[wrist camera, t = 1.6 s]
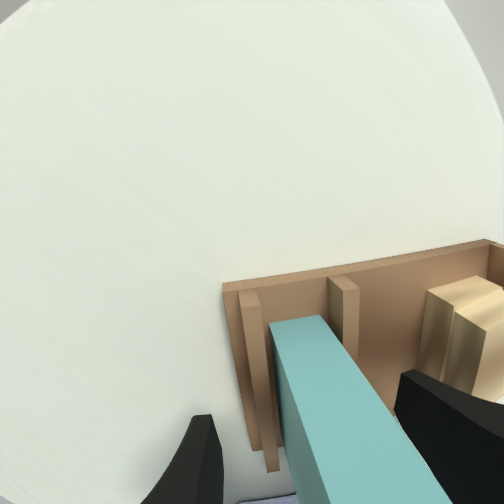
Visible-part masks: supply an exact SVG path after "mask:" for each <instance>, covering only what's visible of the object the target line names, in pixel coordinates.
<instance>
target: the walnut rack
mask: <svg viewBox="0 0 504 504" xmlns="http://www.w3.org/2000/svg"><path fill="white" fill-rule="evenodd" d="M474 276H479V277H481V278H483V279H485V280H488V281H490V282H492V283H494V284H496V285H499V286H501V287H503V290H504V245H502V244H499V243H497V242H494V241H490V240H487V239H482V240H477V241H472V242H467V243H462V244H457V245H452V246H446V247H441V248H436V249H431V250H425V251H420V252H415V253H409V254H404V255H398V256H393V257H387V258H381V259H375V260H370V261H364V262H358V263H352V264H346V265H340V266H334V267H328V268H321V269H315V270H309V271H302V272H296V273H289V274H283V275H276V276H269V277H263V278H256V279H249V280H242V281H235V282H228V283H223V297H224V303H225V309H226V315H227V321H228V327H229V333H230V338H231V344H232V350H233V355H234V361H235V366H236V372H237V377H238V382H239V387H240V393H241V398H242V403H243V408H244V413H245V418H246V423H247V428H248V432H249V437H250V442H251V447H252V451H258V450H263V451H264V457H265V462H266V468H267V473H269V472H275V471H280V467H279V458H278V450H277V447H283V446H284V444H283V440H282V436H281V432H280V426H279V416H278V406H277V397H276V387H275V378H274V368H273V359H272V350H271V340H270V331H269V323H274V322H280V321H286V320H292V319H297V318H303V317H308V316H314V315H319V314H320V315H321V317H322V318H323V320H324V321H325V322H326V324H327V325H328V326H329V328H330V329H331V330H332V332H333V333H334V335H335V336H336V337H337V339H338V340H339V341H340V343H341V344H342V346H343V347H344V348H345V350H346V351H347V353H348V354H349V355H350V357H351V358H352V359H353V361H354V362H355V364H356V365H357V366H358V368H359V369H360V371H361V372H362V373H363V375H364V376H365V378H366V379H367V380H368V382H369V383H370V385H371V386H372V387H373V389H374V390H375V392H376V393H377V394H378V396H379V397H380V399H381V400H382V402H383V403H384V404H385V406H386V407H387V409H388V410H389V411H390V413H391V414H392V416H395V415H396V414H395V412H394V410H393V409H394V405H395V400H396V396H397V391H398V386H399V380H400V375H401V373H403V372H406V371H409V370H411V369H415V370H416V365H417V360H418V354H419V348H420V342H421V336H422V329H423V321H424V313H425V304H426V293H427V290H428V289H432V288H436V287H439V286H443V285H447V284H450V283H453V282H457V281H460V280H464V279H467V278H470V277H474Z"/></svg>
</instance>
